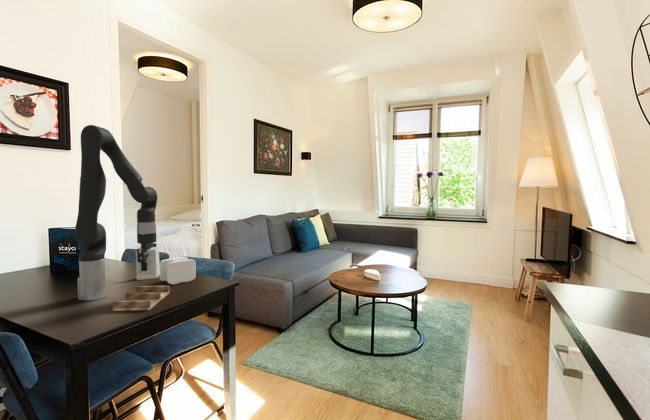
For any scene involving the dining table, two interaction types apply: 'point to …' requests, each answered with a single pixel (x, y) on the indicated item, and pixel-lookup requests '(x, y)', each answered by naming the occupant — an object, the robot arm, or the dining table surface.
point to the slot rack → (142, 298)
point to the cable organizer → (177, 270)
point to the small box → (149, 265)
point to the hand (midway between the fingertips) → (147, 268)
